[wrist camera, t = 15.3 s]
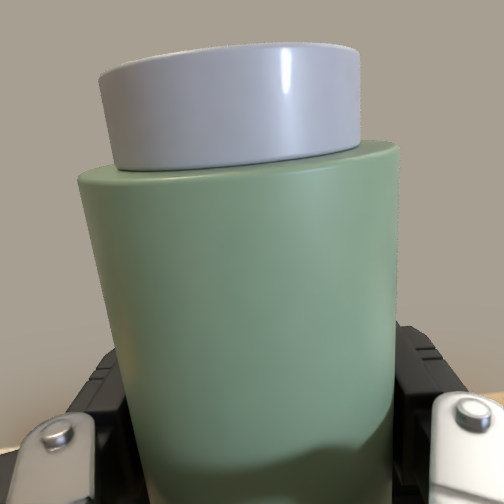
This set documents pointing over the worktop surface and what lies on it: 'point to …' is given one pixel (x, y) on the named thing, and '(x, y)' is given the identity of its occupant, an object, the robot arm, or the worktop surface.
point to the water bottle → (250, 273)
